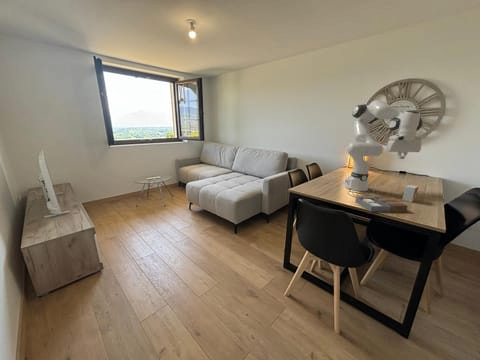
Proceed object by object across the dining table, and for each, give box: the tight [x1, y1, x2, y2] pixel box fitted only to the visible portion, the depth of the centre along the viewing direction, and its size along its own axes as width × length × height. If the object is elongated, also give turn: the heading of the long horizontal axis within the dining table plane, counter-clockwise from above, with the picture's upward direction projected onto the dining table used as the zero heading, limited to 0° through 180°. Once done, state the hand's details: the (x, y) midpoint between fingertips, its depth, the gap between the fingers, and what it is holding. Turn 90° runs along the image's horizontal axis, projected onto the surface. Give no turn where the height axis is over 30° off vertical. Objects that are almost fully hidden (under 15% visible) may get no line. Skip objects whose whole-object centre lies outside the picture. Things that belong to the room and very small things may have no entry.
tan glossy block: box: [374, 196, 409, 213], centre depth 130 cm, size 16×10×4 cm, turn 1°
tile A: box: [363, 199, 375, 204], centre depth 134 cm, size 5×5×2 cm
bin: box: [354, 196, 391, 213], centre depth 130 cm, size 16×12×4 cm
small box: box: [402, 184, 419, 203], centre depth 142 cm, size 8×6×10 cm
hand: (401, 158), depth 129 cm, fingers closed
